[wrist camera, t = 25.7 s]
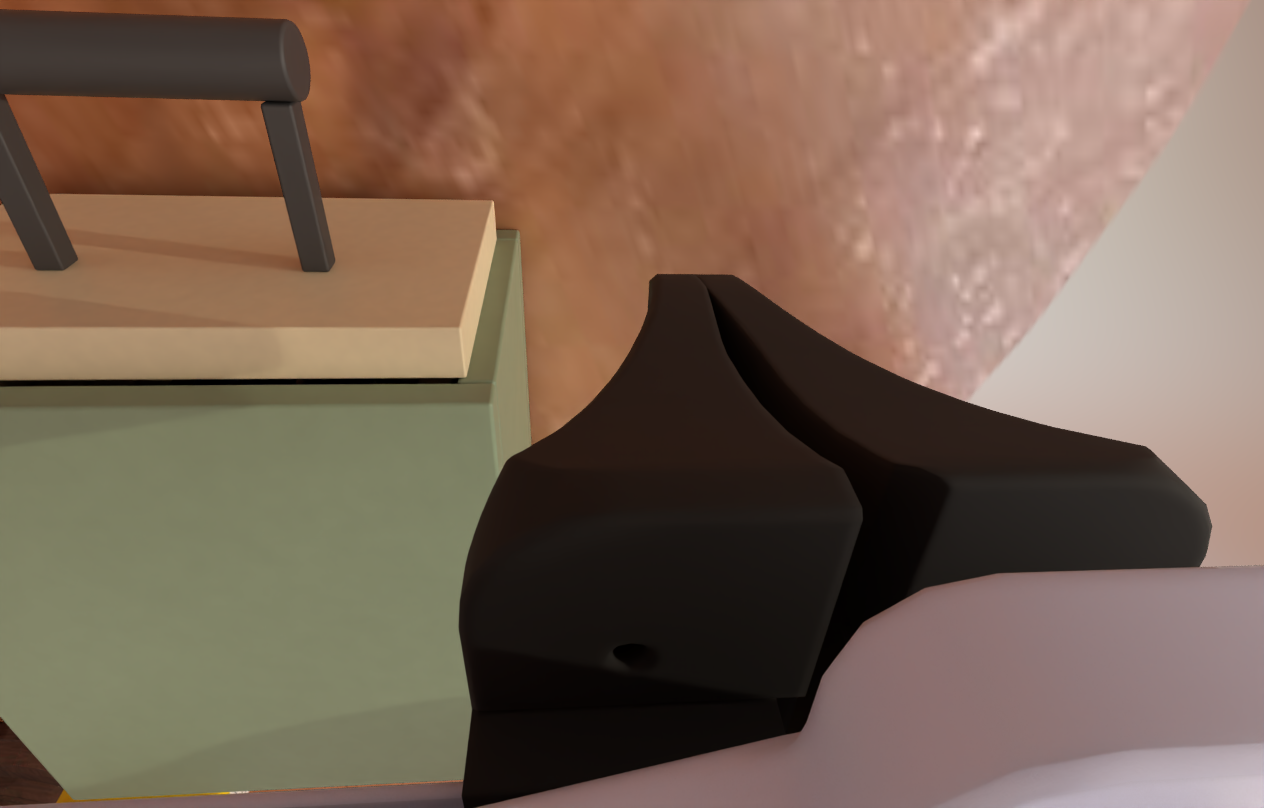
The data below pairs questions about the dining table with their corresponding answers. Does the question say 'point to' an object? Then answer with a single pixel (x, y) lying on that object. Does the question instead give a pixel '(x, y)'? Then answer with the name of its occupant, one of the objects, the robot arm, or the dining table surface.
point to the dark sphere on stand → (23, 774)
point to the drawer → (217, 232)
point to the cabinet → (251, 571)
